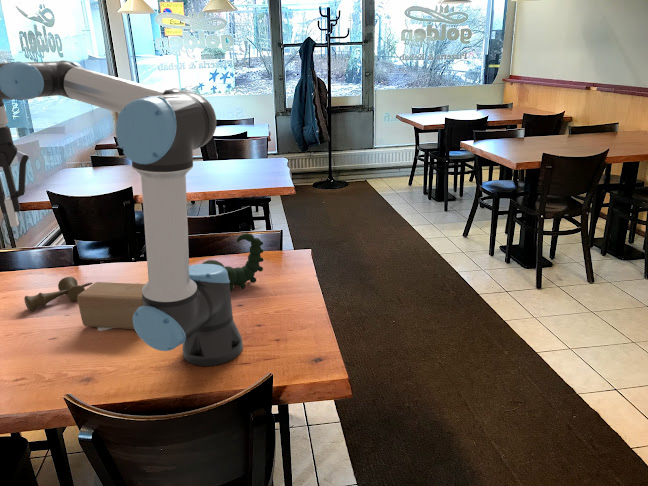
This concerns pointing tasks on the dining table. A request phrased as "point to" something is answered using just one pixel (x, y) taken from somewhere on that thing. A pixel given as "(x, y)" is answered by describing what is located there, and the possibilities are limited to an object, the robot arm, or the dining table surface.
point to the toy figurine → (248, 271)
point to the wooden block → (110, 304)
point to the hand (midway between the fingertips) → (14, 225)
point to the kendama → (56, 293)
